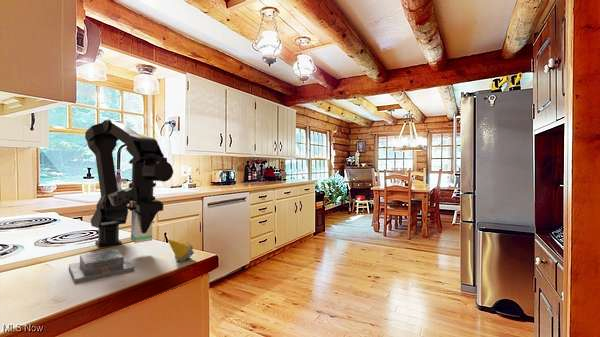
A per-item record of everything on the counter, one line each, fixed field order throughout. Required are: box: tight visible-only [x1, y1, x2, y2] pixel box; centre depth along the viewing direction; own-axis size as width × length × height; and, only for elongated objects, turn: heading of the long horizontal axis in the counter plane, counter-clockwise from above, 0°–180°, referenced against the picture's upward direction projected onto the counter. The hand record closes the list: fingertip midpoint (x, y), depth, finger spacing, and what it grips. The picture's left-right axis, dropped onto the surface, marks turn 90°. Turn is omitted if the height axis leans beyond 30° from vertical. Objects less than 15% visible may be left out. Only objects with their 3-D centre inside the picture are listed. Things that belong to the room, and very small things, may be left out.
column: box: [130, 209, 153, 244], centre depth 86 cm, size 5×5×9 cm
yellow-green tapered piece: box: [167, 239, 195, 262], centre depth 82 cm, size 5×5×10 cm
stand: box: [68, 248, 135, 284], centre depth 74 cm, size 12×12×4 cm
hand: (141, 231), depth 86 cm, fingers closed on column, 4 cm apart
